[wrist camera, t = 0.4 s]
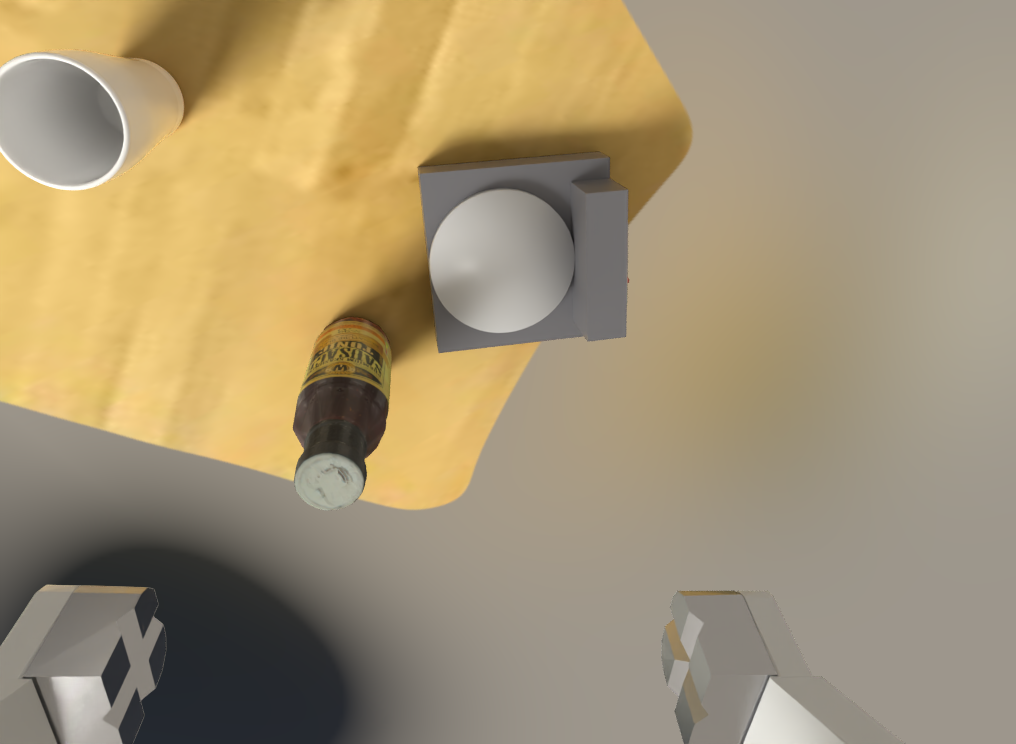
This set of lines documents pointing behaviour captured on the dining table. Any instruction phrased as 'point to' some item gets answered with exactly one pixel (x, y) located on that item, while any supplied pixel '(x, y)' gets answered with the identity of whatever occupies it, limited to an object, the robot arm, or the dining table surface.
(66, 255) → the dining table surface
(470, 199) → the kitchen scale
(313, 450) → the sauce bottle
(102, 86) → the drinking glass
